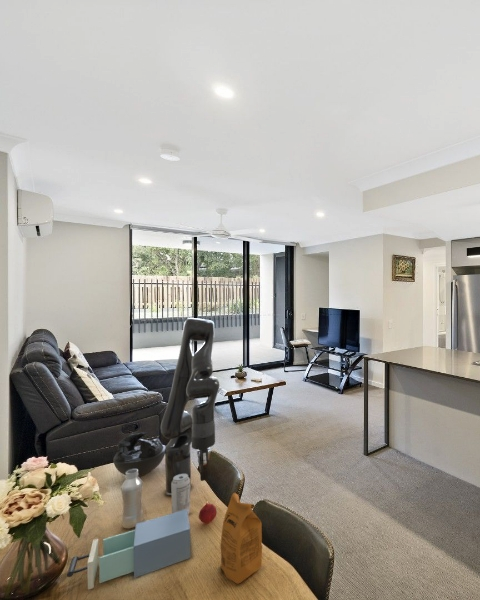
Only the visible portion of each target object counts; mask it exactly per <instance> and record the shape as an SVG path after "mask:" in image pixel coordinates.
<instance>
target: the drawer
mask: <svg viewBox="0 0 480 600" xmlns="http://www.w3.org/2000/svg"><path fill="white" fill-rule="evenodd" d="M134 537H135V529H132V530H129V531H125V532H122V533H119V534H116V535H115V534H114V535H112V536H108V537H105V538H103V539H102V551H103V552H102V556H99V552H100V551H99V538H94V539H93V540H92V544H91V547H90V551H89V553H88V554H85V555H81V556H78V555H77V556H73V557H72V558H71V560H70V563H69V566H68V568H67V569H68V570H67V573H66V577H67V578H71V577H73V576H74V575H75V574H78V573H80V572H83V571H87V591H89V590H91V589H94V587H95V582H96V578H97V573H99V575H98V576H99V579H98V580H99V584H102V583H105V582H107V581H110V580H113V579H116V578H120V577H122V576H125V575H127V574H130V573H131V574H132V573H134ZM87 558H88V559H87ZM84 559H87V564H86V565H87V566H83V567H81V568H77V569H76V567H77V565H78V561H82V560H84ZM98 567H99V568H98ZM98 569H99V570H98Z"/></svg>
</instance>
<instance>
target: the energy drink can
mask: <svg viewBox="0 0 480 600" xmlns="http://www.w3.org/2000/svg"><path fill="white" fill-rule="evenodd" d="M171 492H172V496H171V514H172V513H176V512H179V511H182V510H186V509H187V510H188V515H189V514H190V512H191V488H190V478H189V477H188V474H179V475H176V476H175V477H174V478H173V481H172V483H171Z"/></svg>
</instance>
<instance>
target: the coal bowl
mask: <svg viewBox="0 0 480 600" xmlns="http://www.w3.org/2000/svg"><path fill="white" fill-rule="evenodd" d="M148 434H149V433H148V432H143V431H142V432H138V433H137V432H135V433H131V434H129V435H128V436H125V437H123V438H122V439H121V440H120V441H118V443H117V451H116V454H115V455H114V456H113V459H112V461H113V465H114V467H115V469H116V470H117V472H119V473H120V474H122V475H123V476H126V472H127V471H129V470H132V469H138V477H141V476H144V475H147V474H149V473H151V472H152V471H154V470H155V469H156V468H157V467H159V465H161V463H162V462H163V460H164V459H165V447H166V445H164V444H163V443H162V442H161V440H160V438H159V437H156V438H153V439H151V440H150V439H149V440H148V439H143V437H144V436H146V435H148ZM138 443H139V445H137V444H138ZM136 445H137V446H136Z"/></svg>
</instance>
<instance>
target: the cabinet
mask: <svg viewBox="0 0 480 600" xmlns="http://www.w3.org/2000/svg"><path fill="white" fill-rule="evenodd" d="M189 518H190V517H189V514H188V510H187V509H186V510H182V511H179V512H176V513H172V512H171V513H169V514H166V515H162V516H158V517H154V518H151V519H147V520H143V521H142V522H141V523H137V524H136V527H134V530H135V537H134V571H133V578H138V577H142V576H145V575H146V574H149V573H152V572H155V571H158V570H161V569H163V568H167V567H169V566H172V565H175V564H178V563H180V562H182V561H186V560H188V559H191V527H190V525H191V524H190V519H189Z"/></svg>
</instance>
